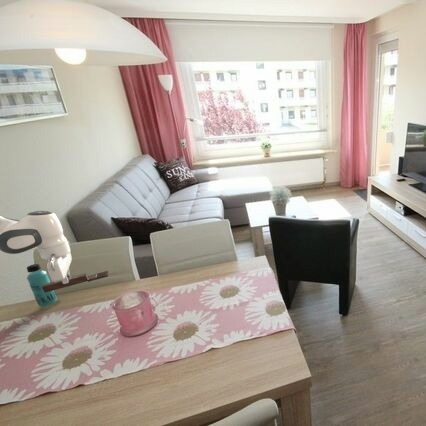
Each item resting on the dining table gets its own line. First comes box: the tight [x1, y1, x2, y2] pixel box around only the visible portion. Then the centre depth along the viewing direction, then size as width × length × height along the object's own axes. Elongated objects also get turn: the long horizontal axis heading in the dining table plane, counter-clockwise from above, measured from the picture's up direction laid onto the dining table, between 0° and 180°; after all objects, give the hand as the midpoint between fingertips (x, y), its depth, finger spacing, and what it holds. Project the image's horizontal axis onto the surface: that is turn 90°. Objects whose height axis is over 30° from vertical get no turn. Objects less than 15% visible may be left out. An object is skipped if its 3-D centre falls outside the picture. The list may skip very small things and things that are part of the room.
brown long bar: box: [42, 270, 109, 293], centre depth 121 cm, size 21×4×3 cm, turn 122°
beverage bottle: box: [26, 263, 58, 308], centre depth 126 cm, size 6×7×20 cm
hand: (67, 280), depth 119 cm, fingers closed on brown long bar, 2 cm apart
